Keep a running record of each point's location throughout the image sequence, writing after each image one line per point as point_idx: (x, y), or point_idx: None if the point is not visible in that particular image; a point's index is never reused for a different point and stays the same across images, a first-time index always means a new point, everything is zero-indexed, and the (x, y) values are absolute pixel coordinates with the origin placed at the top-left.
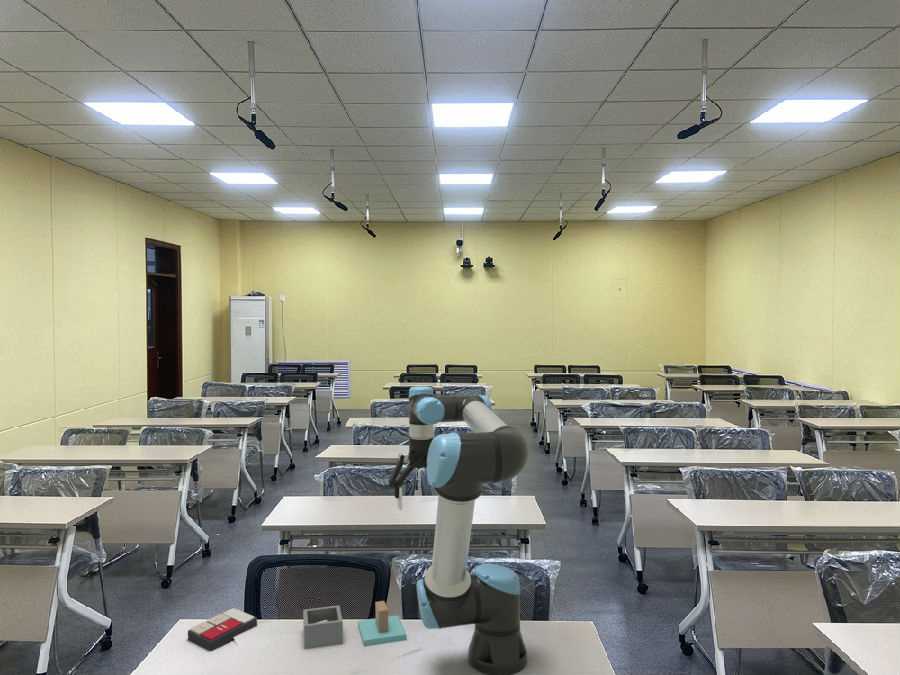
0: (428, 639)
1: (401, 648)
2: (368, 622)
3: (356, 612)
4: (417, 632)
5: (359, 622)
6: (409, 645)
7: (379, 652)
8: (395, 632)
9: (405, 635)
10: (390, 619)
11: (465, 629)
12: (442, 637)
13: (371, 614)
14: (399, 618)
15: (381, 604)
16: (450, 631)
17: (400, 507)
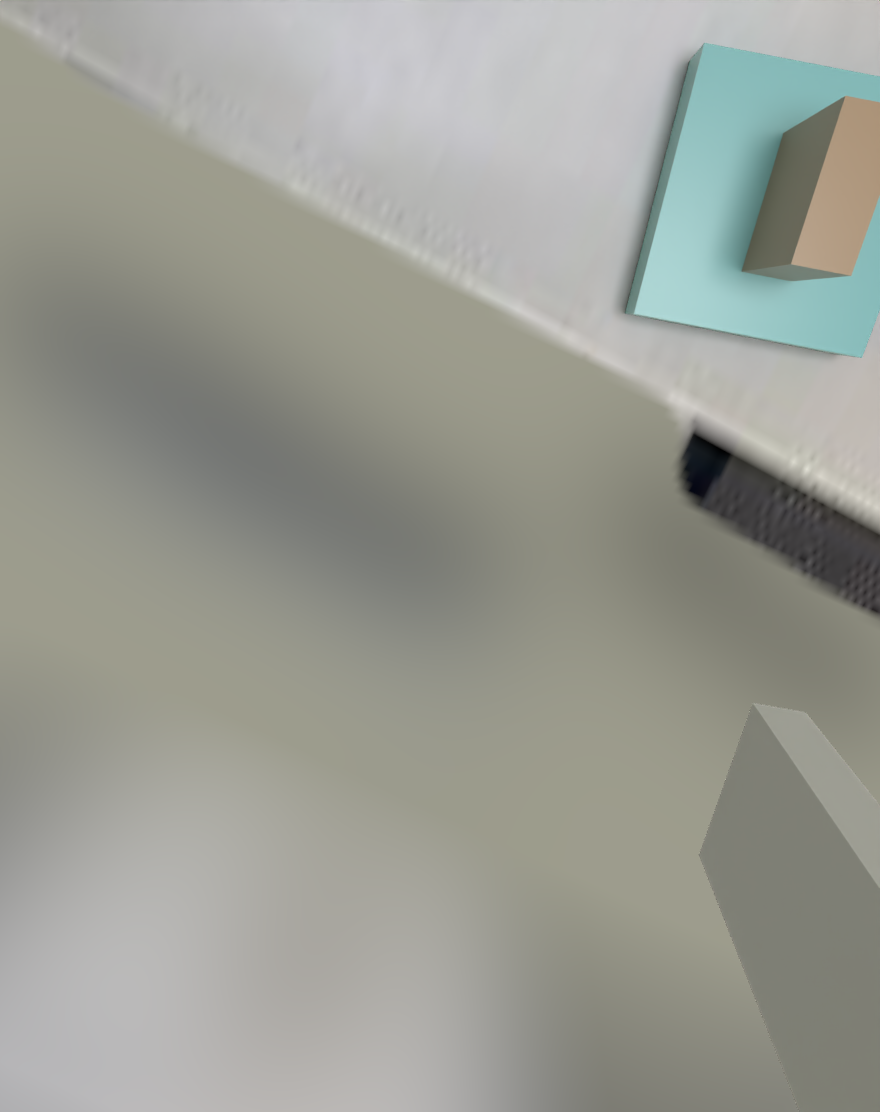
0: (558, 48)
1: (740, 17)
2: (822, 308)
3: (754, 541)
4: (575, 164)
5: (866, 333)
6: (684, 30)
7: (868, 33)
8: (749, 102)
9: (709, 45)
10: (696, 283)
11: (318, 61)
12: (477, 31)
13: (698, 484)
14: (645, 270)
15: (838, 211)
16: (405, 81)
17: (810, 736)
